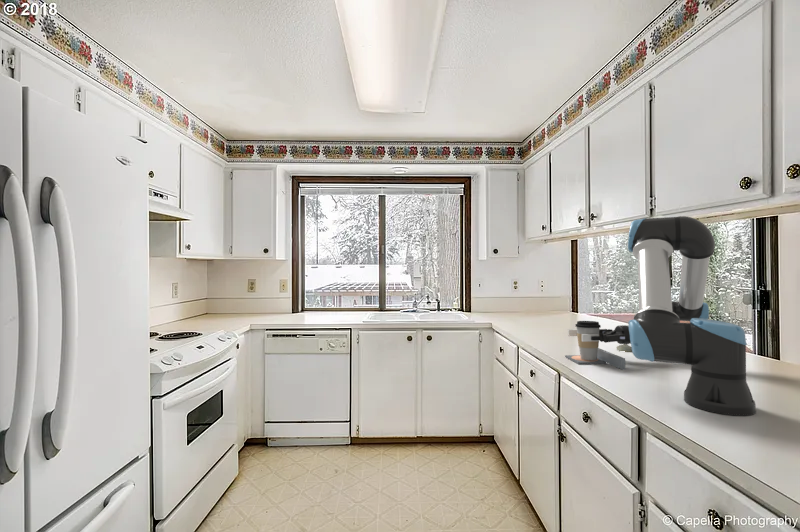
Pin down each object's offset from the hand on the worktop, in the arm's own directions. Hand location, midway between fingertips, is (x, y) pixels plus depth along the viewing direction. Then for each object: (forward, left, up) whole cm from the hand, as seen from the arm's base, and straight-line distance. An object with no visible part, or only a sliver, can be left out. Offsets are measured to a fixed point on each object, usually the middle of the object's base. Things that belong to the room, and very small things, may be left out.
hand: (574, 335), depth 157 cm
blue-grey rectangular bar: (-4, -11, -10) cm, 16 cm away
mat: (0, -4, -10) cm, 11 cm away
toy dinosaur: (+24, -35, -11) cm, 44 cm away
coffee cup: (-2, -5, -9) cm, 11 cm away
